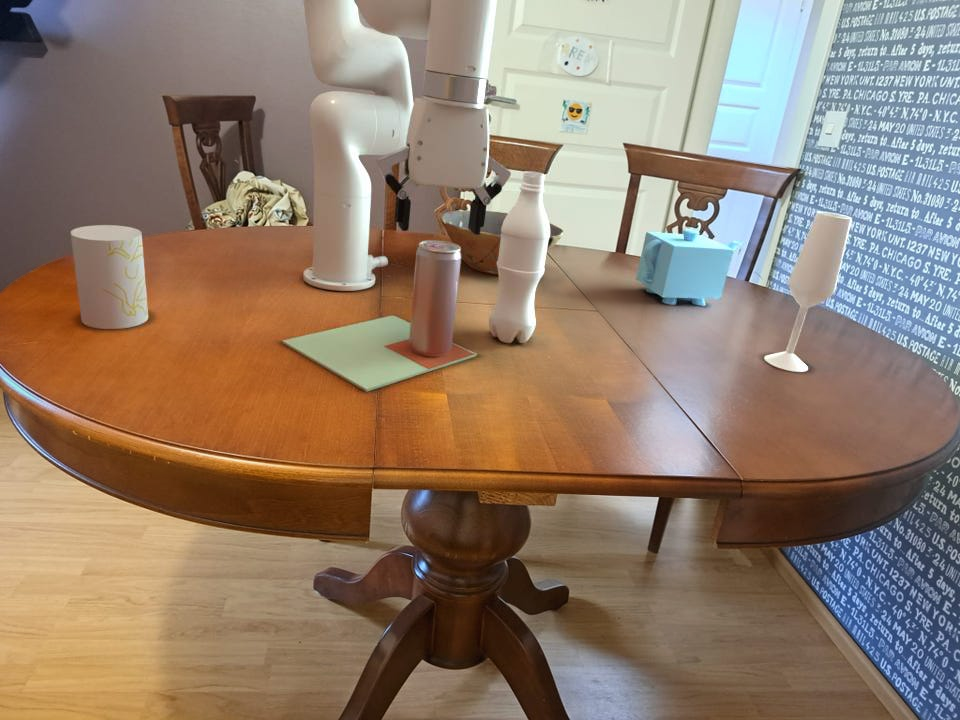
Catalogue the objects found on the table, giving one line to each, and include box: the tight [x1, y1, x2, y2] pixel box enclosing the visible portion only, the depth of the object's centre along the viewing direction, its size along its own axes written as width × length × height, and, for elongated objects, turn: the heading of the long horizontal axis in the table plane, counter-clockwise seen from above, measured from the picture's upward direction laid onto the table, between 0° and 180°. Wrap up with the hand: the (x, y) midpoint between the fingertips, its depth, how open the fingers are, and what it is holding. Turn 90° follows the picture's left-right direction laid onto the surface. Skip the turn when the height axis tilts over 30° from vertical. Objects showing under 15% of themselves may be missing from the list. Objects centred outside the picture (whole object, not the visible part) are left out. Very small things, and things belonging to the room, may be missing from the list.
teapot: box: [635, 228, 745, 306], centre depth 133 cm, size 22×11×14 cm, turn 105°
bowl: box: [439, 210, 564, 276], centre depth 136 cm, size 25×25×10 cm
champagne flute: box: [763, 211, 853, 373], centre depth 102 cm, size 7×7×24 cm
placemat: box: [281, 314, 478, 393], centre depth 92 cm, size 20×18×1 cm
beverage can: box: [409, 239, 462, 357], centre depth 90 cm, size 6×6×15 cm
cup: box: [70, 224, 149, 330], centre depth 89 cm, size 8×8×12 cm
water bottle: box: [488, 170, 550, 344], centre depth 98 cm, size 7×7×25 cm
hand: (439, 230), depth 87 cm, fingers open, 9 cm apart
